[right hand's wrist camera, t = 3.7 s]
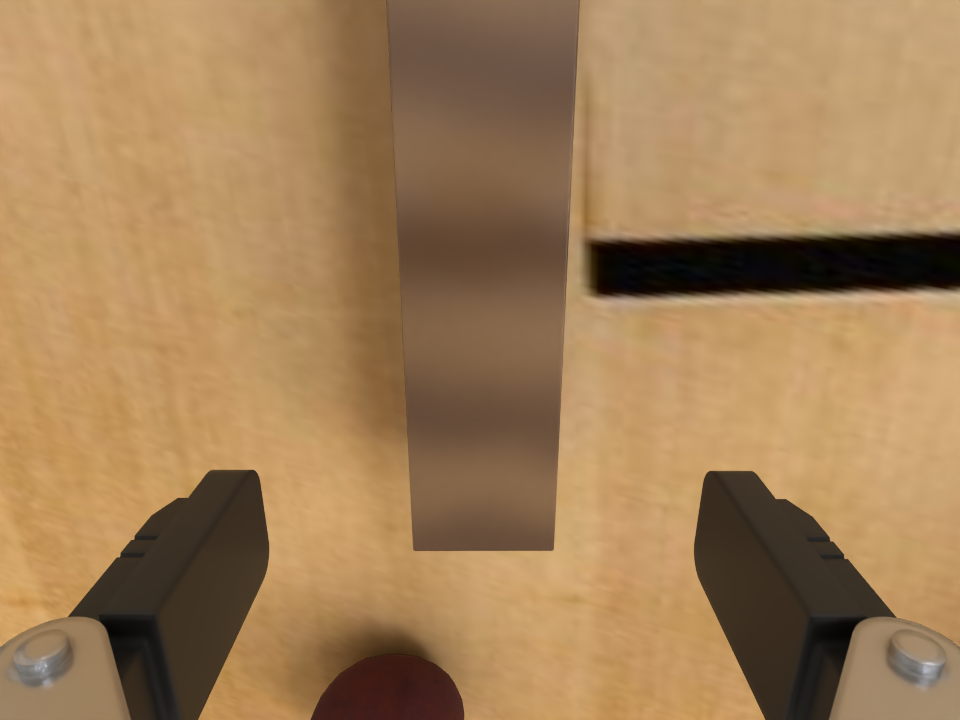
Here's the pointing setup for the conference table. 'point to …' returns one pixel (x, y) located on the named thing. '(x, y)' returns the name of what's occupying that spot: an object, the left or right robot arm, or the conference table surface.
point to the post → (483, 260)
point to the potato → (391, 692)
